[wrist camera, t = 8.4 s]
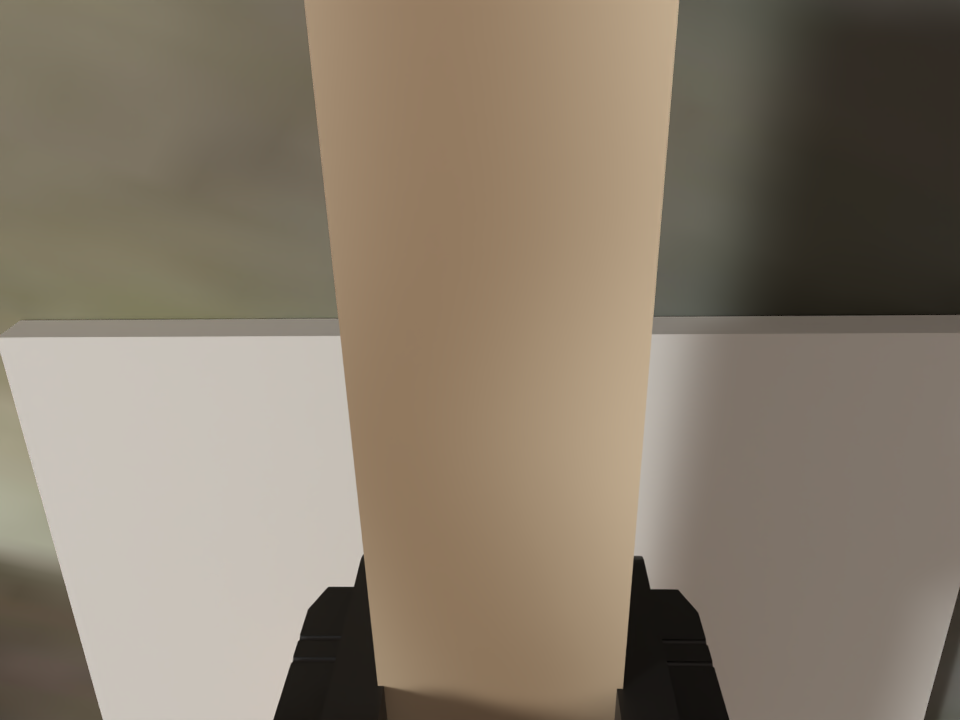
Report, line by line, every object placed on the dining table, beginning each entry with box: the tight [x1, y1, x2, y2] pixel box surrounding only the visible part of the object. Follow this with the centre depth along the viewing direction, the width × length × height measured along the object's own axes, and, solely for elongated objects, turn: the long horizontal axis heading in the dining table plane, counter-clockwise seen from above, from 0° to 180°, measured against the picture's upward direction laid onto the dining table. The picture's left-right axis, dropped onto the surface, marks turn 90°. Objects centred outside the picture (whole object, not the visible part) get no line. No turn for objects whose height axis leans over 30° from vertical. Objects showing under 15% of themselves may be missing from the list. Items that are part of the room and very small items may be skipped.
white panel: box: [0, 315, 960, 720], centre depth 23 cm, size 22×20×1 cm
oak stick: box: [304, 0, 679, 720], centre depth 13 cm, size 3×20×4 cm, turn 1°
